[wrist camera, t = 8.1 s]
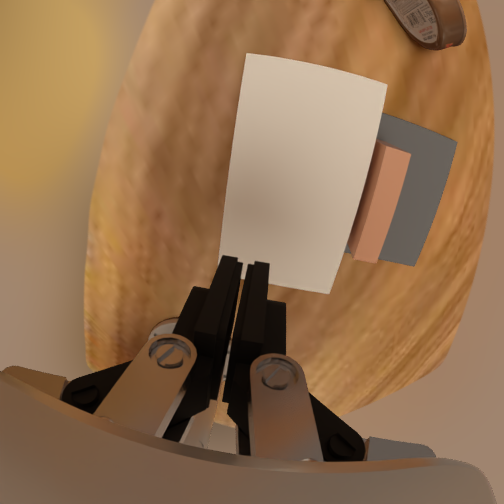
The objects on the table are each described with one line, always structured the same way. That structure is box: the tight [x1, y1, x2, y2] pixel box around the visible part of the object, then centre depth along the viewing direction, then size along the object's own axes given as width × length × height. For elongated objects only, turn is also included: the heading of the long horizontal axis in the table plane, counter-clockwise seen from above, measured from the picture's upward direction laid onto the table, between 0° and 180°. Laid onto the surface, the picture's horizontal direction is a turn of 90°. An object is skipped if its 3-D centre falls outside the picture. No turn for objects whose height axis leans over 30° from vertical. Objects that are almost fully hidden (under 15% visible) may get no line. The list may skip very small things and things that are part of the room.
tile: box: [347, 139, 411, 263], centre depth 22 cm, size 9×6×2 cm
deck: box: [218, 53, 387, 294], centre depth 23 cm, size 18×10×5 cm, turn 171°
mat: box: [344, 113, 457, 266], centre depth 25 cm, size 14×10×1 cm
